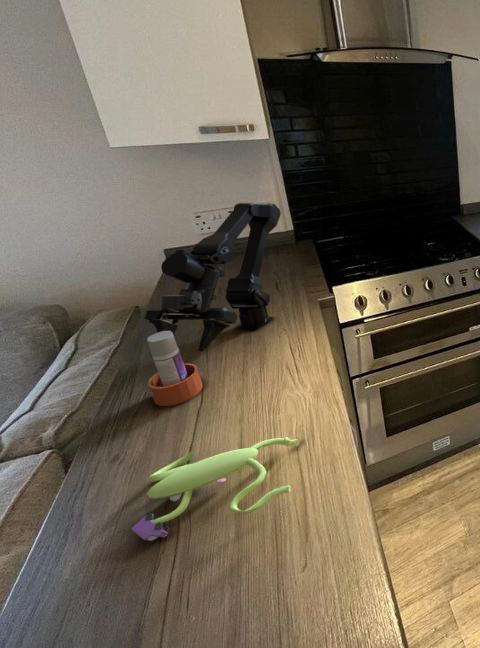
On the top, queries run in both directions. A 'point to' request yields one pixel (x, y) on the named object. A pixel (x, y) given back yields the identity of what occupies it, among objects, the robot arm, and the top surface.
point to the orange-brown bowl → (176, 388)
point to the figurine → (205, 483)
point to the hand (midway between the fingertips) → (181, 351)
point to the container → (167, 358)
